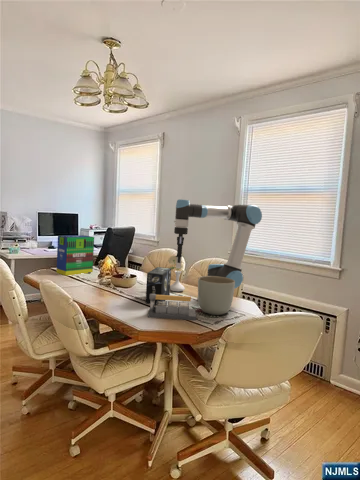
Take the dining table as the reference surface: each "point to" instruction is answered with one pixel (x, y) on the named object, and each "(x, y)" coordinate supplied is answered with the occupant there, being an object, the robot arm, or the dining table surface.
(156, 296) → the tan wooden bar
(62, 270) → the box
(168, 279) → the box
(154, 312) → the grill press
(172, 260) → the flower in vase
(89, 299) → the dining table surface
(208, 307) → the planter
